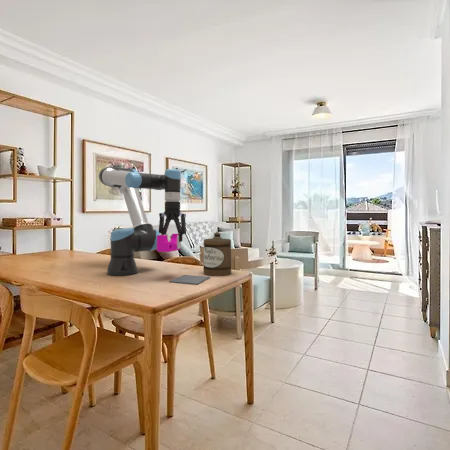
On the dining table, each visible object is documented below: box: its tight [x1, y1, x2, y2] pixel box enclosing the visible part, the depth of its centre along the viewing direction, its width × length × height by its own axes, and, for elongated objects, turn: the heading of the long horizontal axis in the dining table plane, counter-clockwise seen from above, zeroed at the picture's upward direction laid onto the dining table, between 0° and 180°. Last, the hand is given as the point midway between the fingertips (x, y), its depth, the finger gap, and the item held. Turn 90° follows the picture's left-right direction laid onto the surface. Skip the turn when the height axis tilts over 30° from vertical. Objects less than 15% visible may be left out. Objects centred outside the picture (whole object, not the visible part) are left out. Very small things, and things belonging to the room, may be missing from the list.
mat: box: [169, 274, 211, 286], centre depth 156 cm, size 14×16×1 cm
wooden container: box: [202, 231, 232, 277], centre depth 174 cm, size 15×15×22 cm
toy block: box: [156, 233, 181, 253], centre depth 160 cm, size 15×6×8 cm, turn 156°
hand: (172, 247), depth 161 cm, fingers closed on toy block, 7 cm apart
